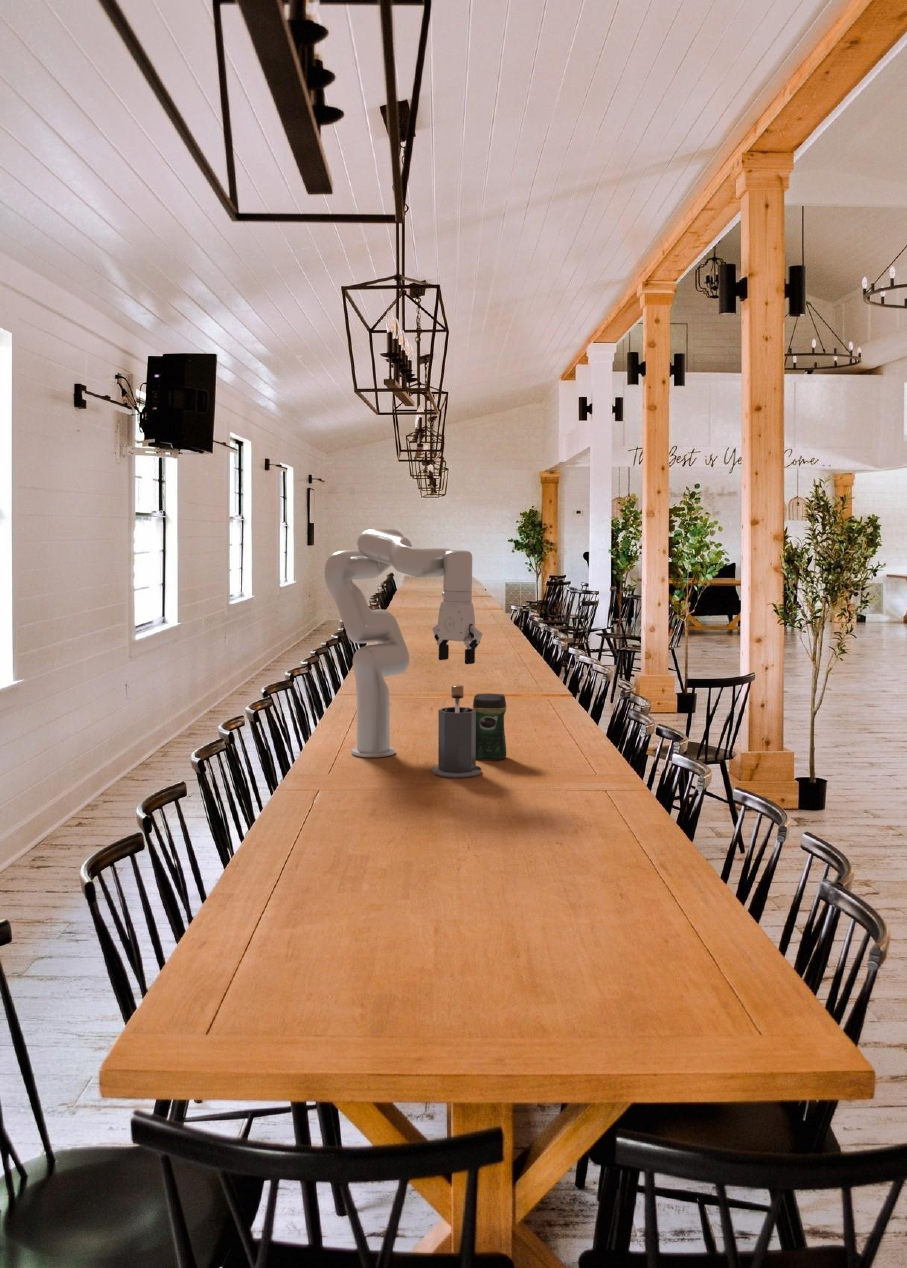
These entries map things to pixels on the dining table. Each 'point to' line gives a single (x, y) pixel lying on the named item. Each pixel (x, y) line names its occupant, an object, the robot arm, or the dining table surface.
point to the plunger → (457, 696)
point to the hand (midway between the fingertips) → (456, 661)
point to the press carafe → (457, 744)
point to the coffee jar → (490, 726)
